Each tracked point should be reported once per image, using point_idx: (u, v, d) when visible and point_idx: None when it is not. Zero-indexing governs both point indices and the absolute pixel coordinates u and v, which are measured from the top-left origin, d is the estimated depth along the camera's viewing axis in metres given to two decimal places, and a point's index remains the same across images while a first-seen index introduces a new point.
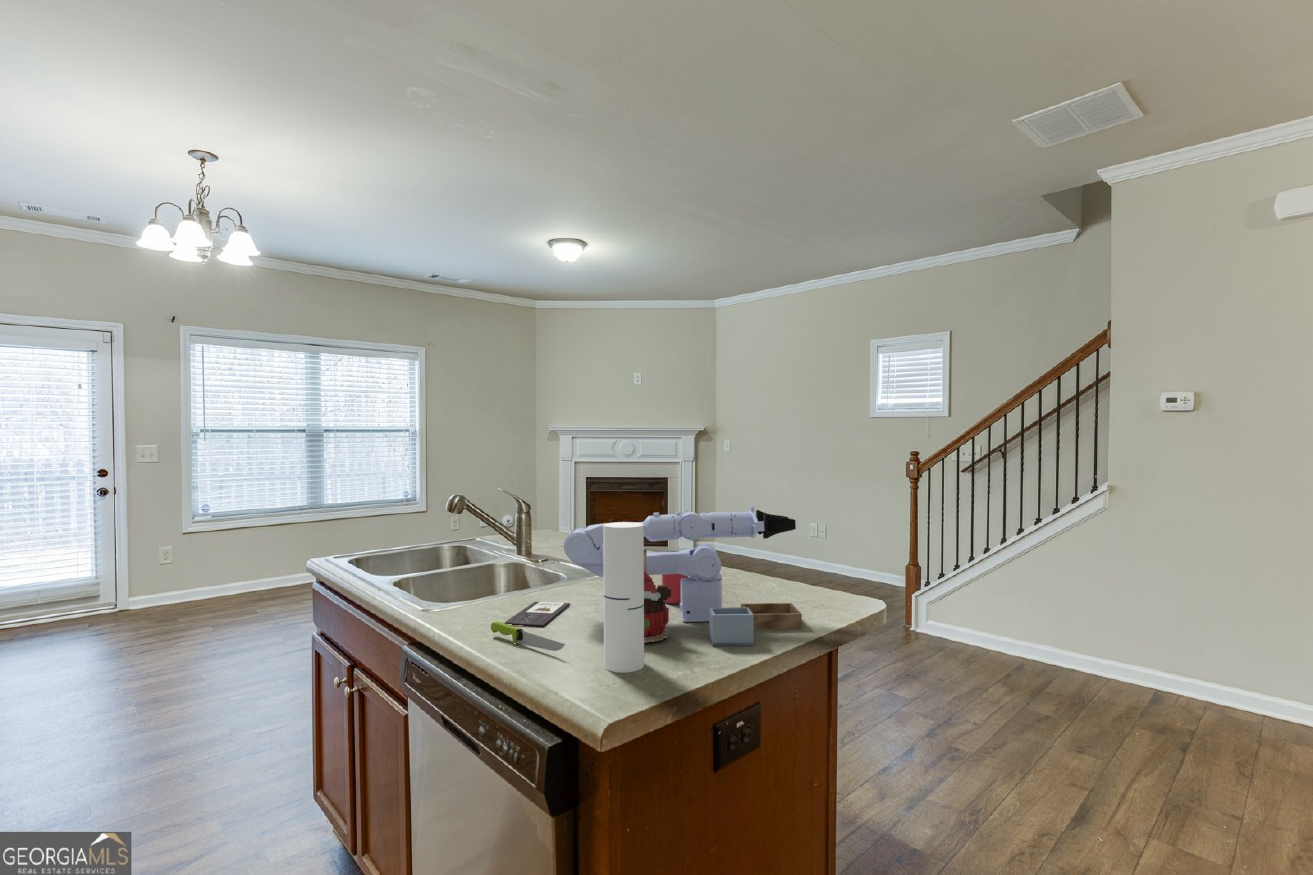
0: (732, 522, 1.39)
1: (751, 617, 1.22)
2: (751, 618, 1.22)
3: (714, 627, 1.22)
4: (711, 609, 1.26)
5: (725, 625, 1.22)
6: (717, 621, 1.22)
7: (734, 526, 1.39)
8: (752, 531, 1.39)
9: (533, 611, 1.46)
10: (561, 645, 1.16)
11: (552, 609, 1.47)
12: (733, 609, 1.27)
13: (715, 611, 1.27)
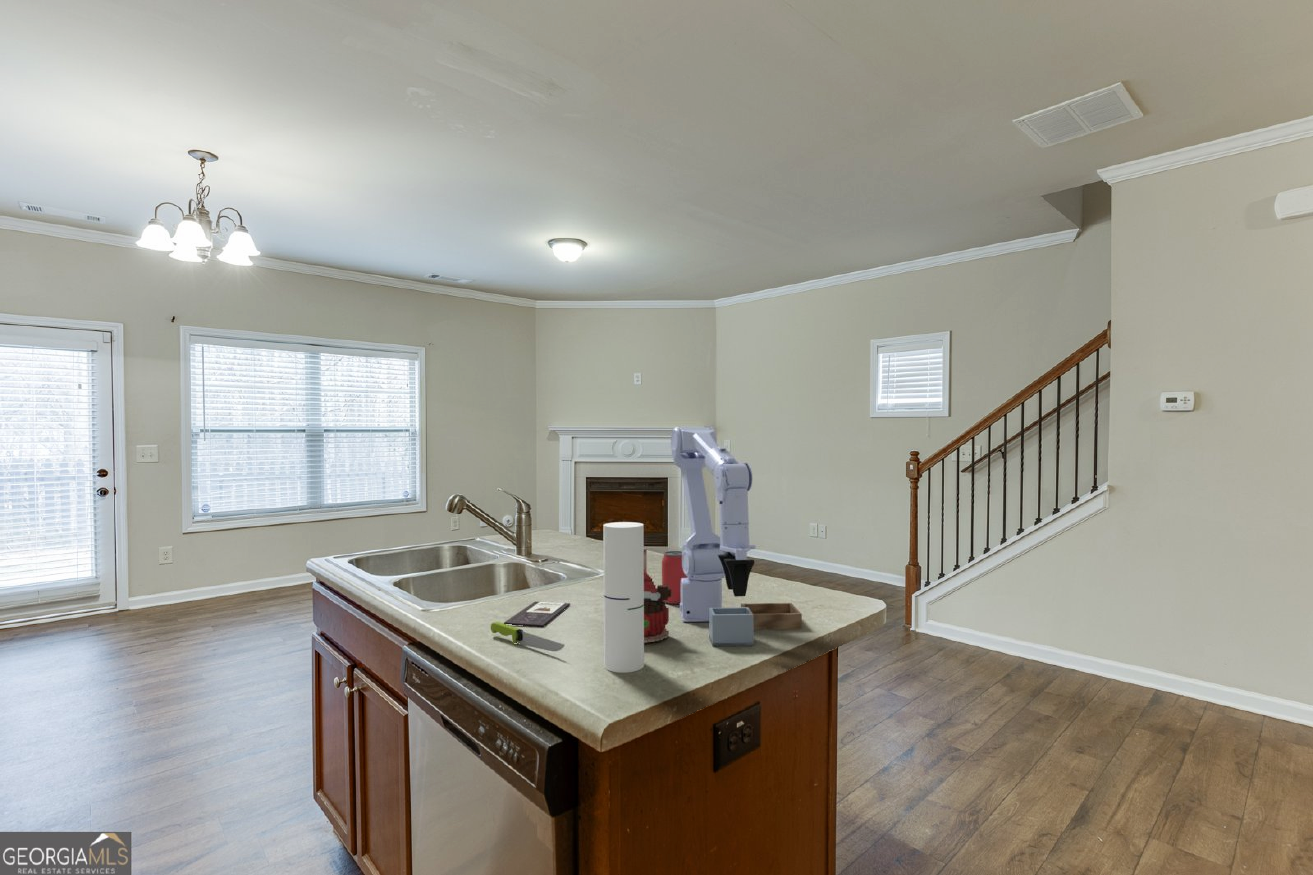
0: (740, 524, 1.23)
1: (751, 617, 1.22)
2: (751, 618, 1.22)
3: (714, 627, 1.22)
4: (711, 609, 1.26)
5: (725, 625, 1.22)
6: (717, 621, 1.22)
7: (735, 526, 1.23)
8: (729, 547, 1.23)
9: (533, 611, 1.46)
10: (561, 645, 1.16)
11: (552, 609, 1.47)
12: (733, 609, 1.27)
13: (715, 611, 1.27)
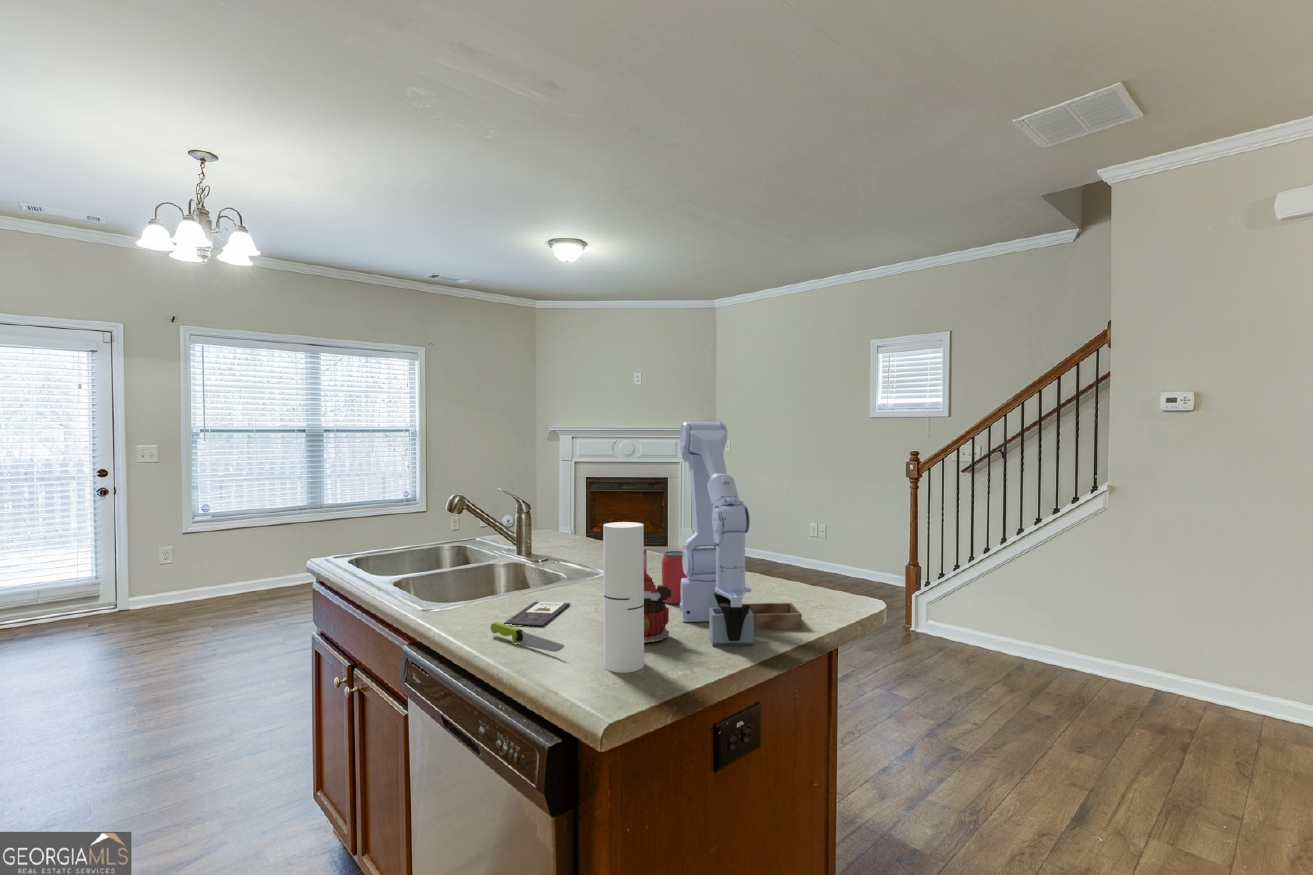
0: (736, 568, 1.22)
1: (751, 617, 1.22)
2: (751, 618, 1.22)
3: (714, 627, 1.22)
4: (711, 609, 1.26)
5: (725, 625, 1.22)
6: (717, 621, 1.22)
7: (731, 570, 1.22)
8: (725, 590, 1.22)
9: (533, 611, 1.46)
10: (561, 646, 1.16)
11: (552, 609, 1.47)
12: None
13: (715, 611, 1.27)
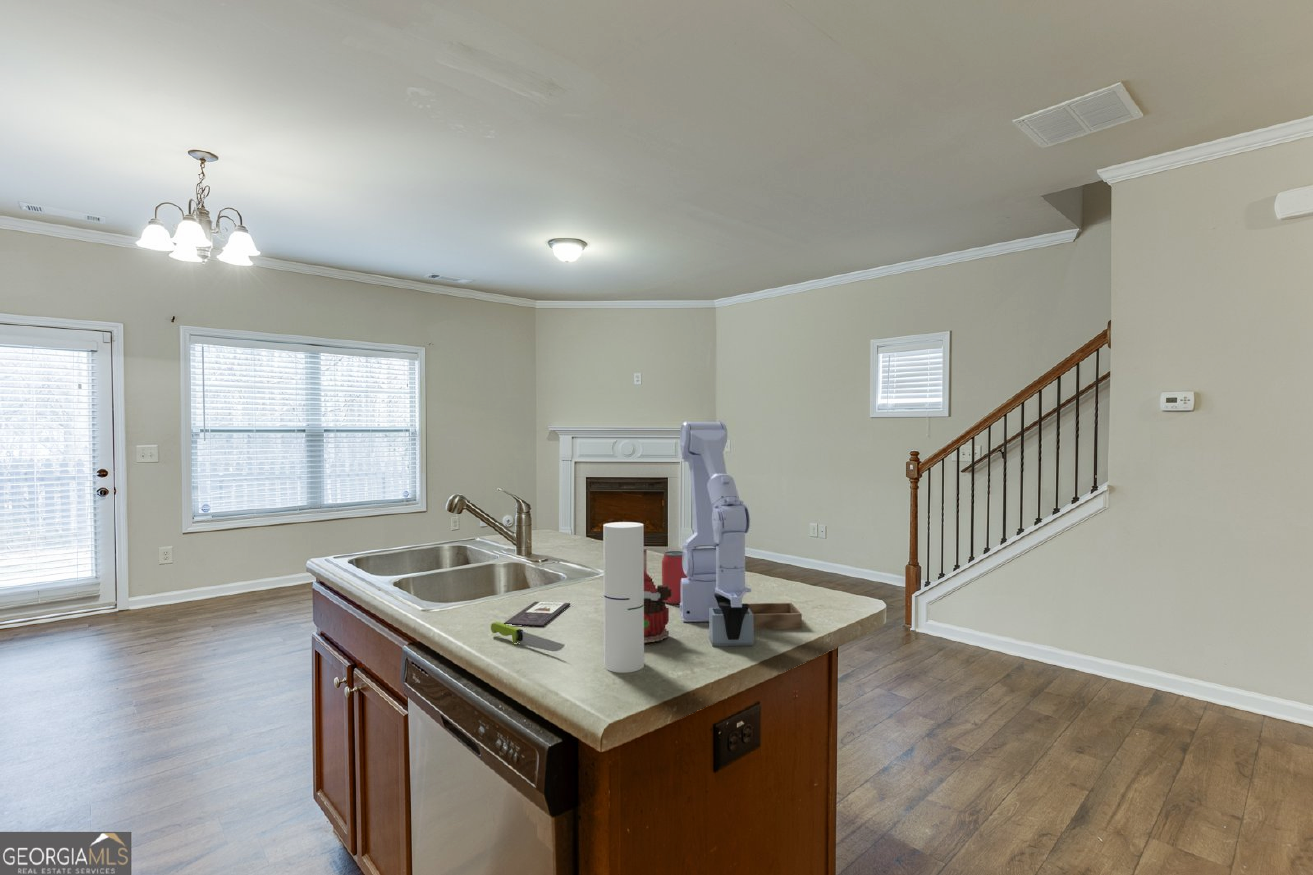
0: (736, 568, 1.22)
1: (751, 617, 1.22)
2: (751, 618, 1.22)
3: (714, 627, 1.22)
4: (711, 609, 1.26)
5: None
6: (717, 621, 1.22)
7: (731, 570, 1.22)
8: (725, 591, 1.22)
9: (533, 611, 1.46)
10: (561, 645, 1.16)
11: (552, 609, 1.47)
12: None
13: (715, 611, 1.27)
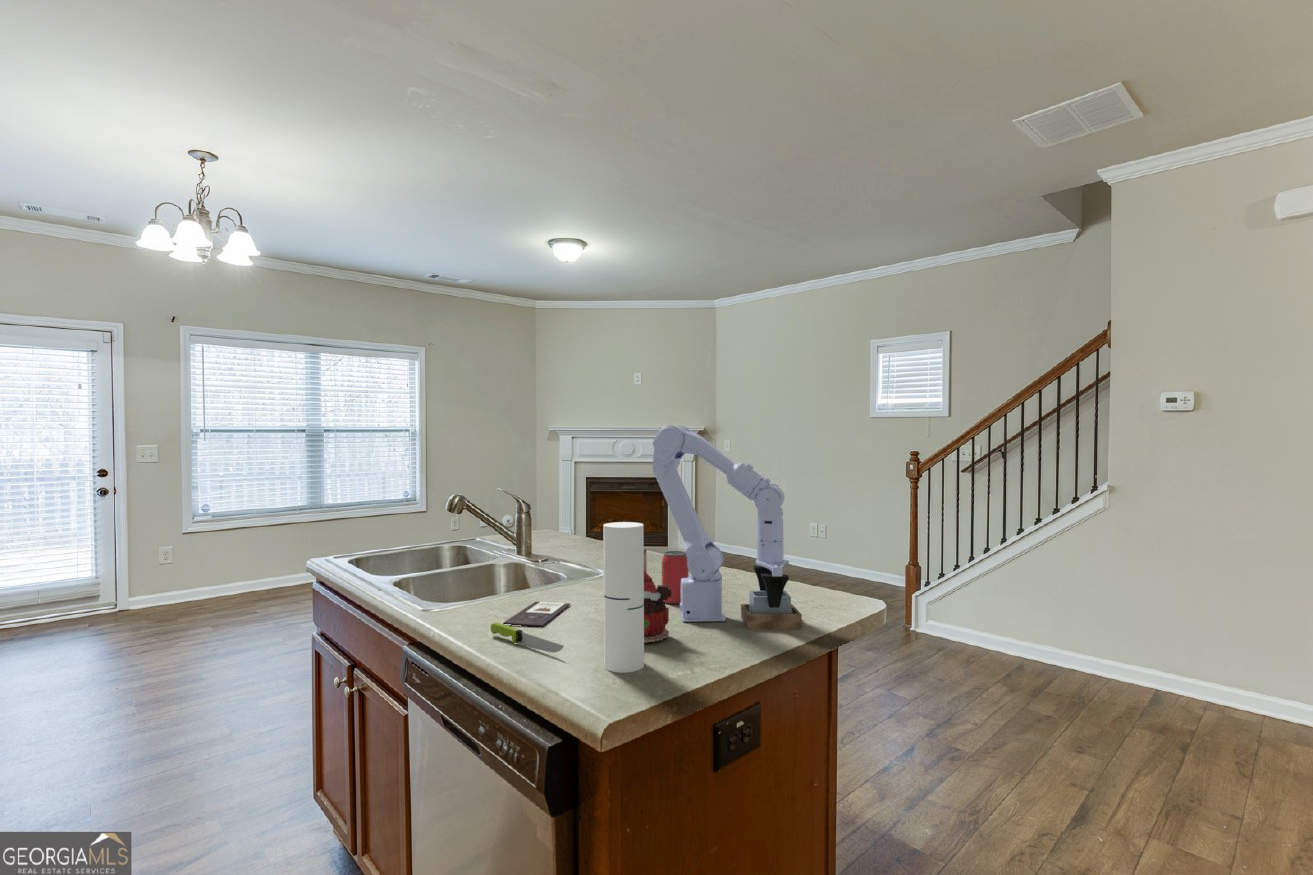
0: (775, 542, 1.35)
1: (789, 599, 1.35)
2: (789, 600, 1.35)
3: (755, 608, 1.35)
4: (751, 592, 1.39)
5: (765, 606, 1.35)
6: (758, 602, 1.35)
7: (771, 544, 1.34)
8: (766, 562, 1.35)
9: (533, 611, 1.46)
10: (560, 646, 1.16)
11: (552, 610, 1.47)
12: None
13: (755, 594, 1.39)
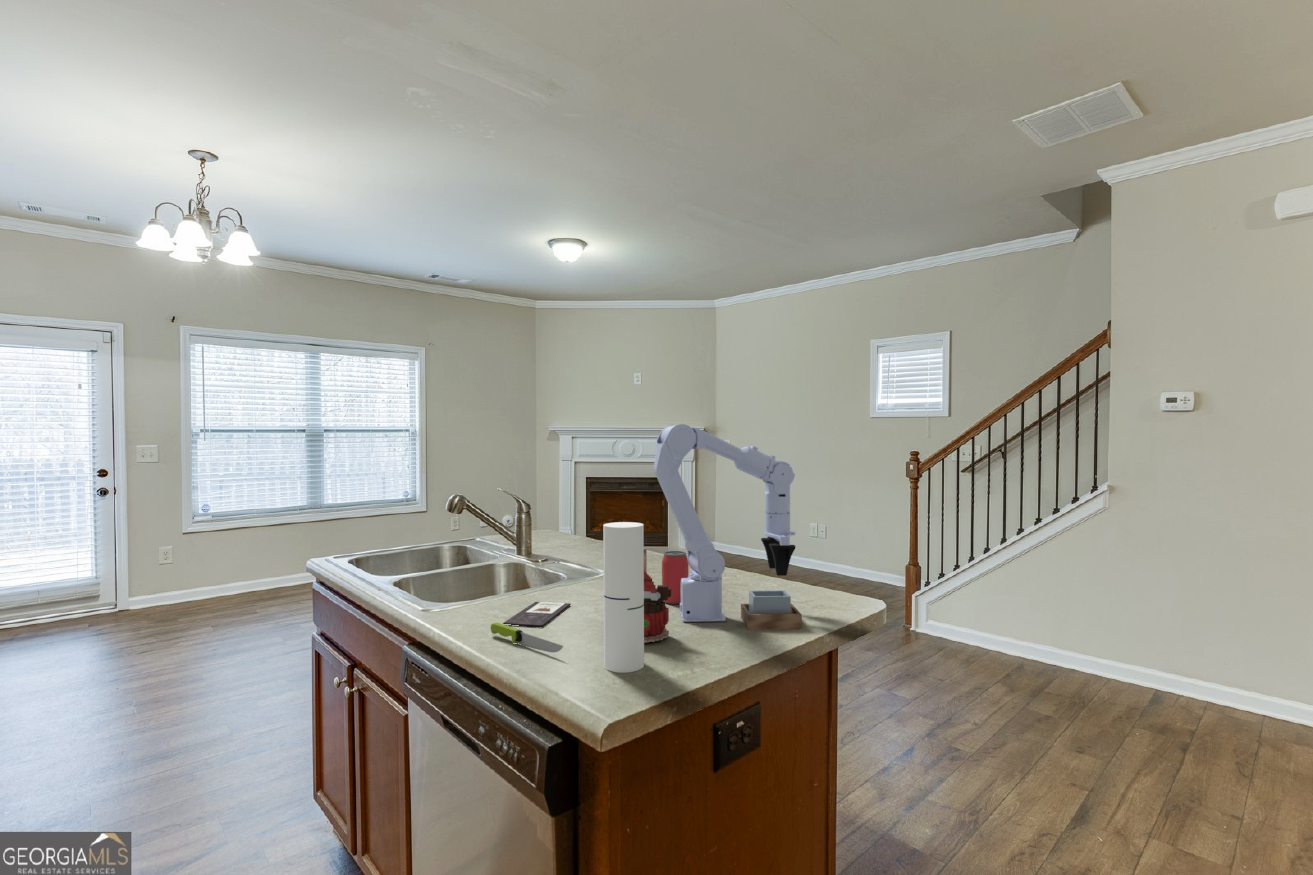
0: (783, 514, 1.43)
1: (788, 599, 1.35)
2: (788, 599, 1.35)
3: (755, 608, 1.35)
4: (751, 592, 1.39)
5: (765, 606, 1.35)
6: (758, 602, 1.35)
7: (779, 516, 1.43)
8: (773, 533, 1.43)
9: (533, 611, 1.45)
10: (560, 646, 1.16)
11: (552, 610, 1.46)
12: (771, 592, 1.40)
13: (754, 594, 1.39)
